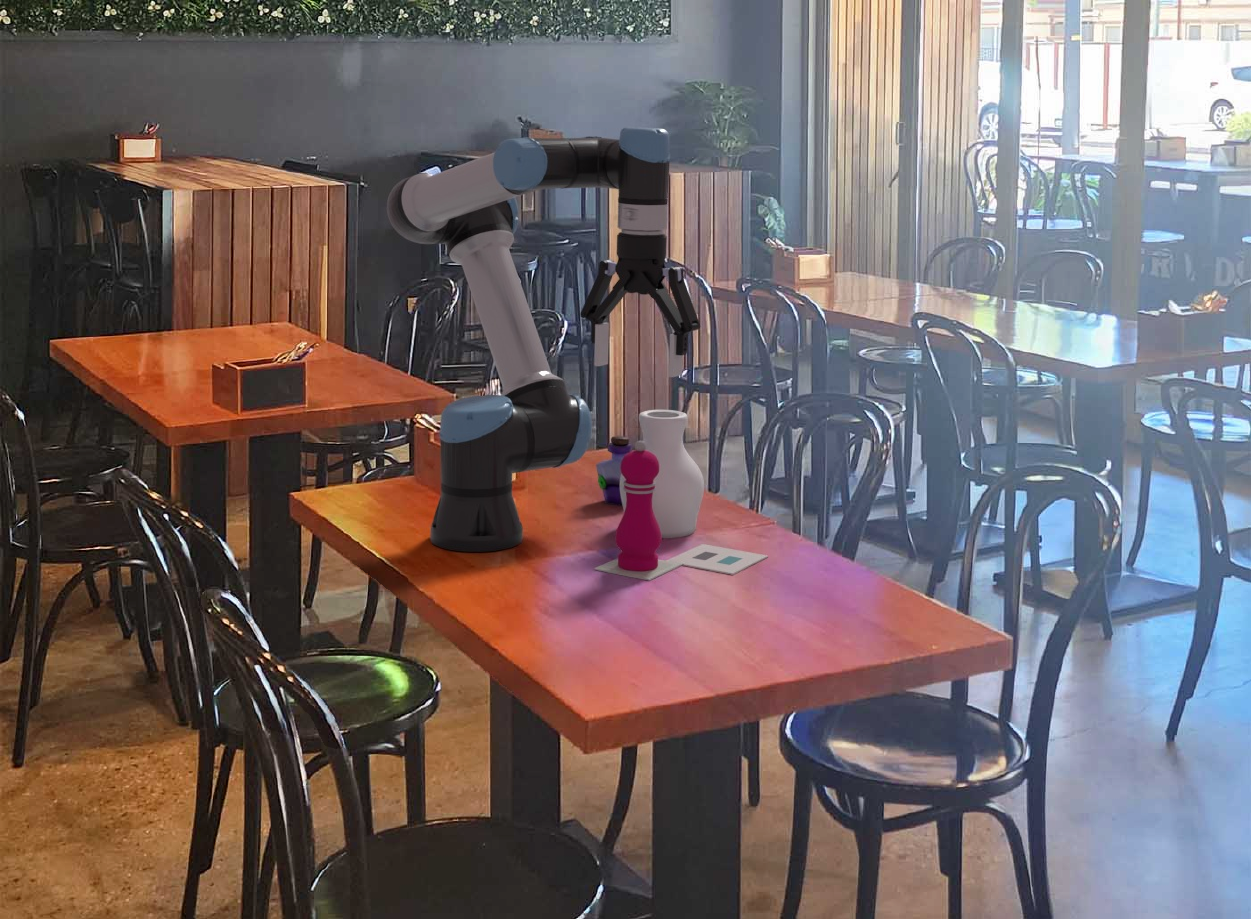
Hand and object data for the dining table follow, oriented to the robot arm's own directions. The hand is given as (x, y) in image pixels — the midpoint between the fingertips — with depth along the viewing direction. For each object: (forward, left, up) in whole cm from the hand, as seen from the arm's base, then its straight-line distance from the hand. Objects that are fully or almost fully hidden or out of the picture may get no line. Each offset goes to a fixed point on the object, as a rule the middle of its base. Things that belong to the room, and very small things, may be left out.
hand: (637, 370), depth 248 cm
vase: (-7, +20, -31) cm, 37 cm away
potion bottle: (-22, +31, -31) cm, 49 cm away
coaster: (+2, -2, -31) cm, 31 cm away
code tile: (+10, +9, -31) cm, 33 cm away
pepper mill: (+2, -3, -30) cm, 31 cm away
